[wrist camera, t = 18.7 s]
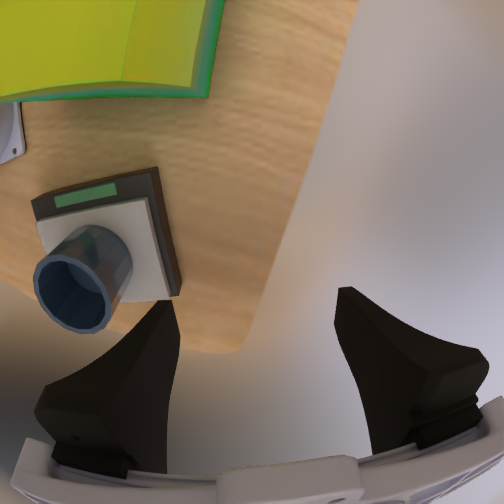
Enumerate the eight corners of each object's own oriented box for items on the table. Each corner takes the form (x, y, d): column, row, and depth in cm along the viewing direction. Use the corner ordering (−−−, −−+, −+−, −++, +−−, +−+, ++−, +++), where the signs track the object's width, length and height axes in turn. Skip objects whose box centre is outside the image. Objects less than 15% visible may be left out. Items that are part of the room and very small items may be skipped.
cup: (65, 282, 19) (38, 318, 15) (66, 216, 17) (30, 244, 13) (129, 302, 20) (111, 344, 16) (137, 234, 18) (113, 269, 14)
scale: (75, 292, 23) (63, 310, 20) (42, 193, 19) (24, 204, 16) (182, 283, 23) (177, 302, 20) (157, 166, 19) (147, 174, 16)
